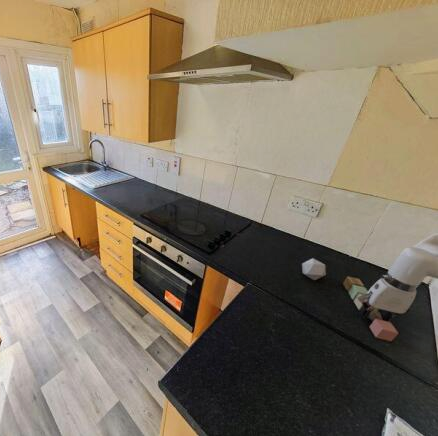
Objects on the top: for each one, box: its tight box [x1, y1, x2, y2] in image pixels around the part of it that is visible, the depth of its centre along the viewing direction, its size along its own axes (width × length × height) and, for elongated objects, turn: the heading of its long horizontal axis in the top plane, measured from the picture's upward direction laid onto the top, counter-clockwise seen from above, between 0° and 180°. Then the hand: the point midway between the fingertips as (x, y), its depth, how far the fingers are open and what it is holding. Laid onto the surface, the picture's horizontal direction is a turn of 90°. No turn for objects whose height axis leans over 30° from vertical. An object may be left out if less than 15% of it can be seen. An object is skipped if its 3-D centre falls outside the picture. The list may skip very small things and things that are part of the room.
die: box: [301, 257, 327, 281], centre depth 103 cm, size 8×9×10 cm
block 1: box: [342, 276, 365, 292], centre depth 98 cm, size 4×4×4 cm
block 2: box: [347, 285, 369, 301], centre depth 93 cm, size 4×4×4 cm
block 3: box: [353, 294, 375, 311], centre depth 89 cm, size 4×4×4 cm
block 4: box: [369, 319, 399, 342], centre depth 78 cm, size 4×4×4 cm
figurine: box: [366, 308, 382, 322], centre depth 83 cm, size 5×4×6 cm
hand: (372, 317), depth 84 cm, fingers closed on figurine, 5 cm apart
